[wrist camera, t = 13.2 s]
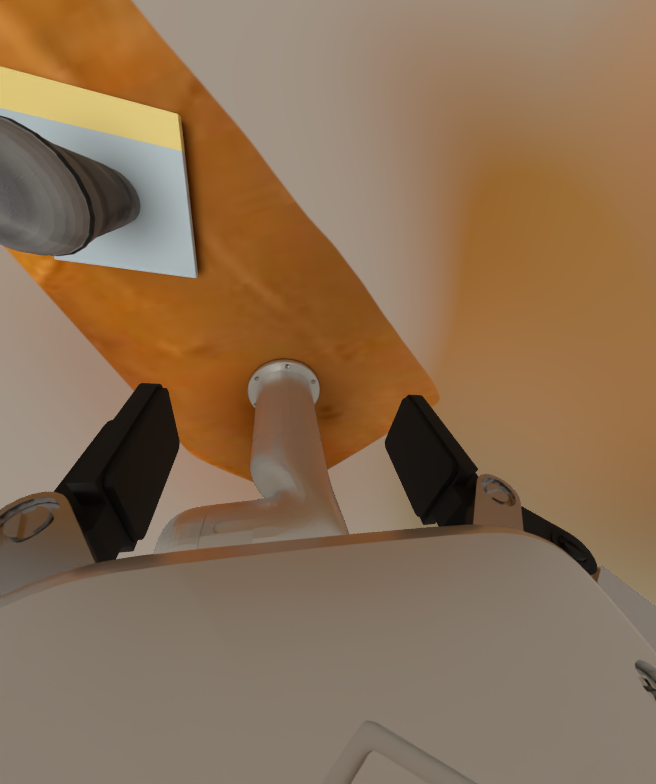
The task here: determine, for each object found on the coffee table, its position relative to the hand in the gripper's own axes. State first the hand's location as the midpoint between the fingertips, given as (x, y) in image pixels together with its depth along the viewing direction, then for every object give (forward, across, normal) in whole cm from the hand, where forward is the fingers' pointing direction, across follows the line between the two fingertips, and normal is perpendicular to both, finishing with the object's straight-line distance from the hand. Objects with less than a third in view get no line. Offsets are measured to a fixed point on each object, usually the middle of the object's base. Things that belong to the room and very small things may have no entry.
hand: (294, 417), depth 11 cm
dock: (+30, +17, -5) cm, 35 cm away
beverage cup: (+28, +17, -5) cm, 33 cm away
